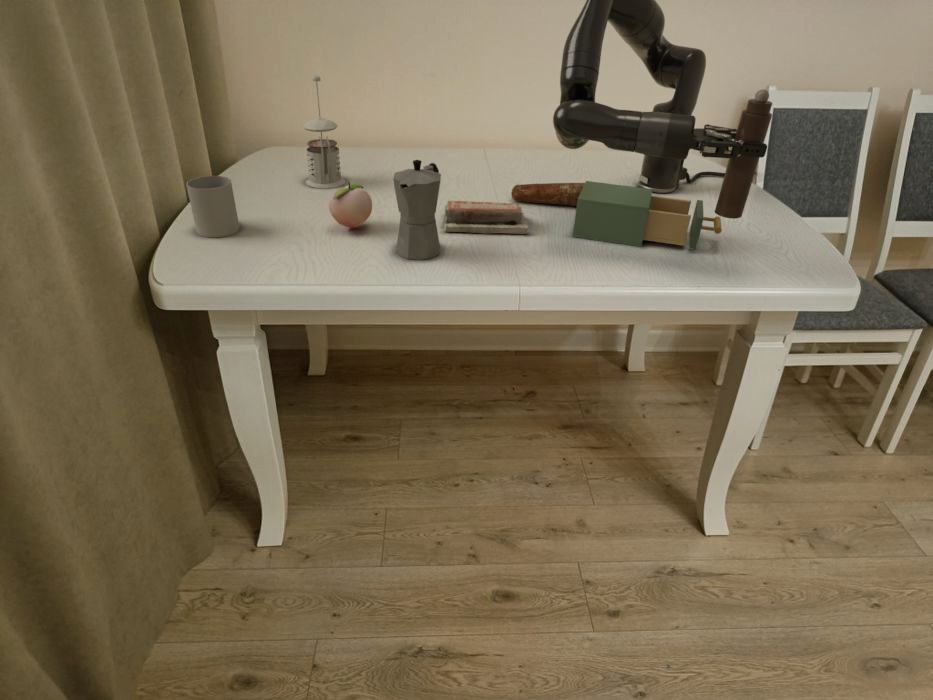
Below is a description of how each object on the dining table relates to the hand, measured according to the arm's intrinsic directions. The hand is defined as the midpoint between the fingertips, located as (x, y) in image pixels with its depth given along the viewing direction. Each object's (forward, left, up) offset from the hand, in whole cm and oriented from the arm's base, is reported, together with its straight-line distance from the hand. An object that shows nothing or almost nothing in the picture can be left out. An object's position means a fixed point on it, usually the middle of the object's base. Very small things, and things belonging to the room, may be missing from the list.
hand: (763, 146), depth 108 cm
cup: (+86, -57, -24) cm, 106 cm away
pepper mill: (+2, -2, -13) cm, 13 cm away
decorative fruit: (+60, -47, -24) cm, 80 cm away
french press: (+57, -78, -24) cm, 100 cm away
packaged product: (+33, -38, -24) cm, 56 cm away
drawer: (0, -16, -23) cm, 28 cm away
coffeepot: (+51, -32, -24) cm, 65 cm away
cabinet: (+9, -25, -24) cm, 36 cm away
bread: (+12, -44, -24) cm, 52 cm away
